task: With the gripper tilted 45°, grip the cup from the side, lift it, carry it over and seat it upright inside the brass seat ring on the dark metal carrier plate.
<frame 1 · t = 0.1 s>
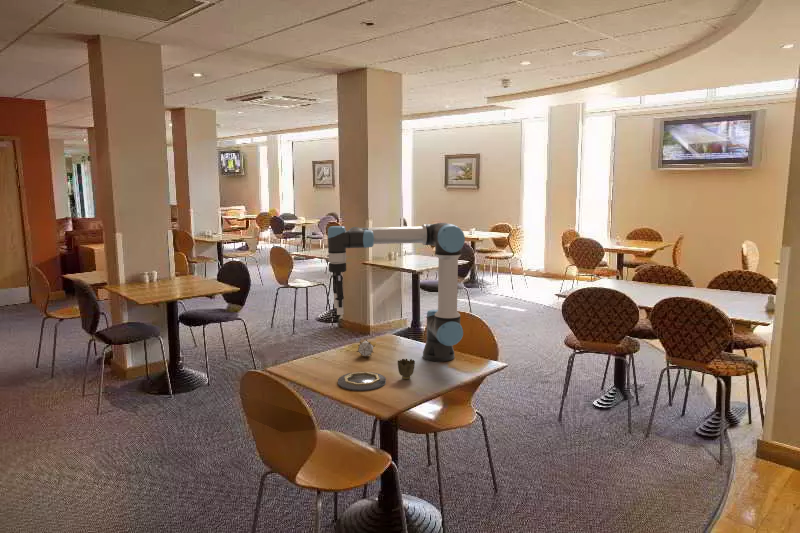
hand: (338, 311, 253), 28 cm above the table, fingers open, 13 cm apart
carrier plate: (361, 382, 245), on the table
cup: (406, 379, 249), on the table
game die: (365, 357, 281), on the table
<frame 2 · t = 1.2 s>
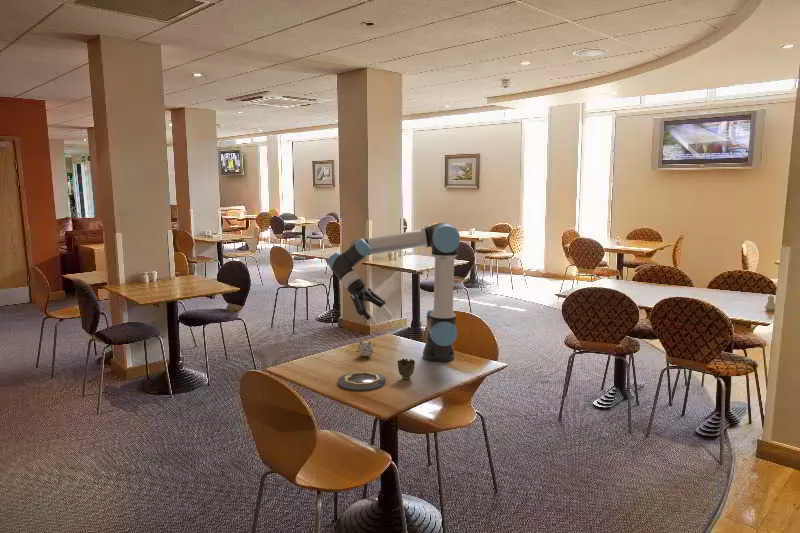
hand: (383, 321, 250), 24 cm above the table, fingers open, 13 cm apart
nothing on the table moved.
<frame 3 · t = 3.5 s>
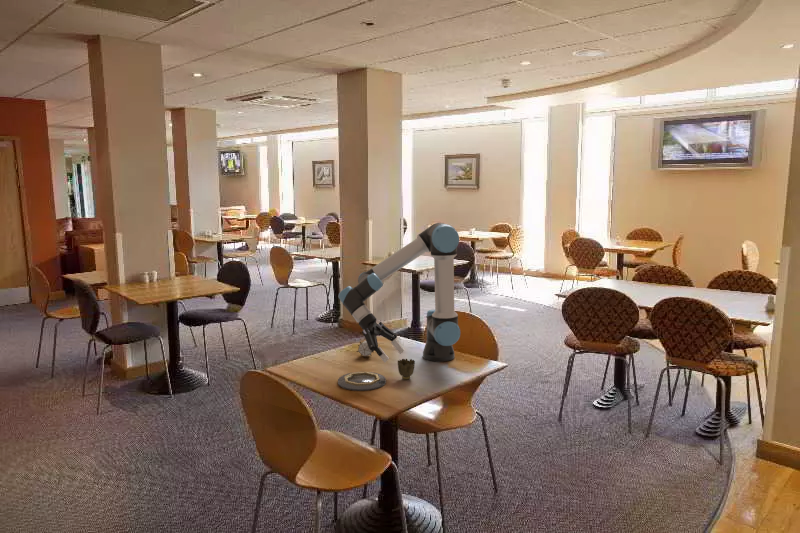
hand: (394, 356, 249), 9 cm above the table, fingers open, 13 cm apart
nothing on the table moved.
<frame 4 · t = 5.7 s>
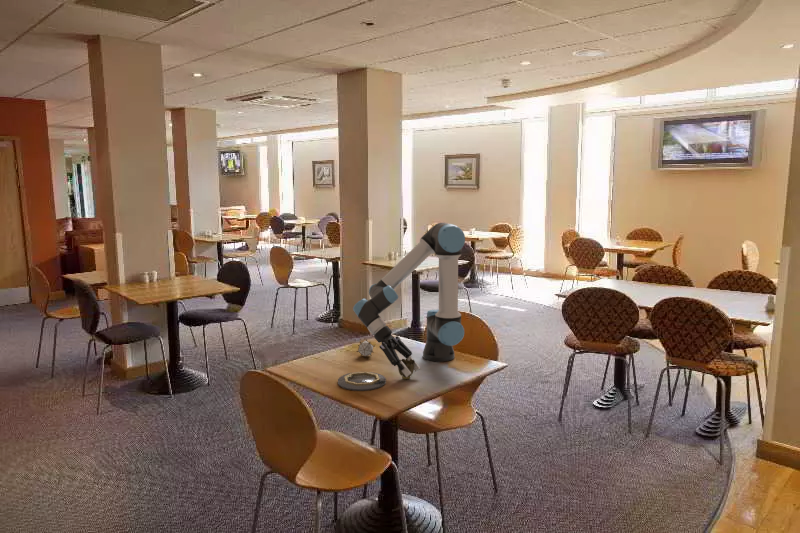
hand: (413, 372, 247), 4 cm above the table, fingers closed on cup, 7 cm apart
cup: (406, 379, 249), on the table, touching gripper
everything else where it was.
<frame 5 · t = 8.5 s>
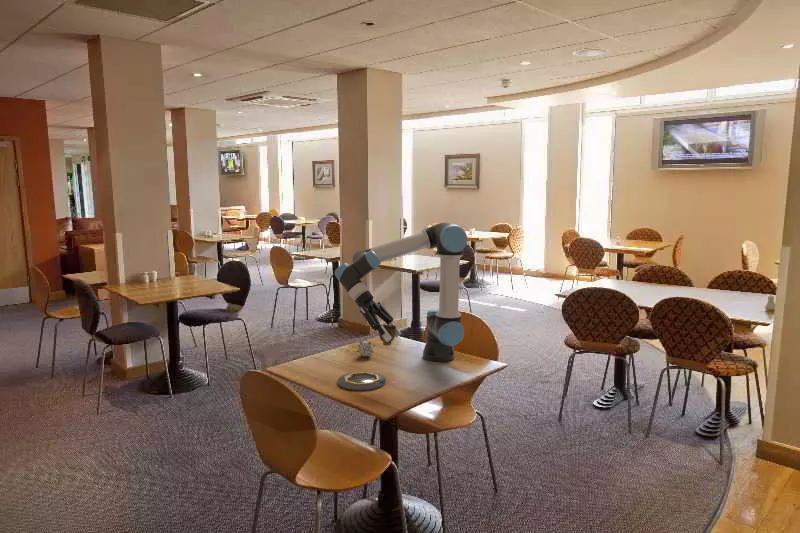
hand: (394, 337, 243), 19 cm above the table, fingers closed on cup, 7 cm apart
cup: (387, 345, 245), point 15 cm above the table, touching gripper
everything else where it was.
when the fingers open (6 cm above the table, at t = 11.2 s): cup drops 1 cm, resting on carrier plate.
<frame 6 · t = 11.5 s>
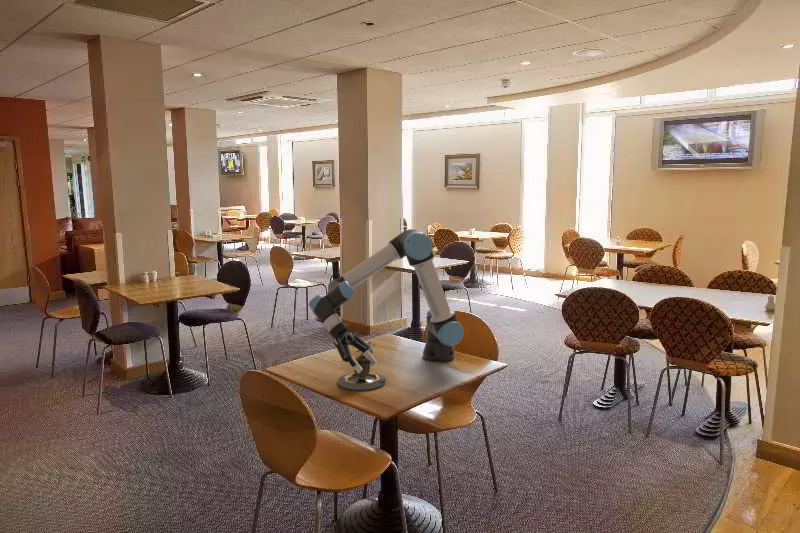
hand: (367, 367, 243), 7 cm above the table, fingers open, 10 cm apart
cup: (361, 379, 245), point 1 cm above the table, touching carrier plate
everything else where it was.
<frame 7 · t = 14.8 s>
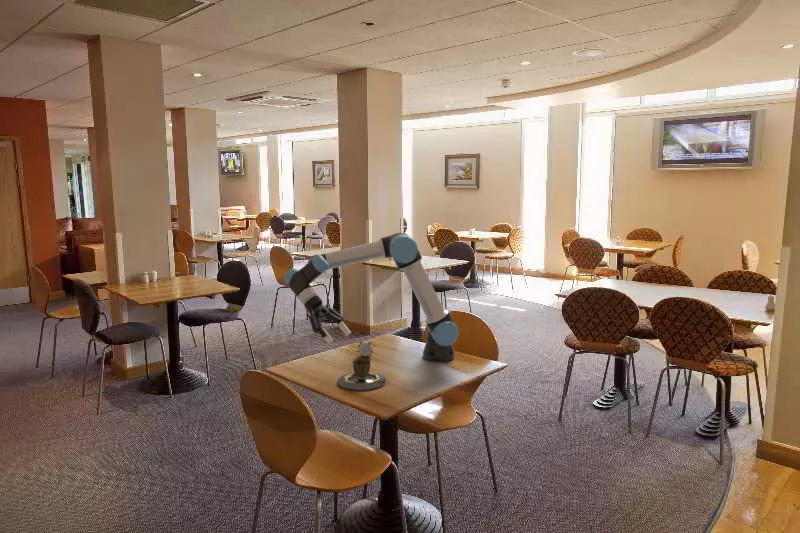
hand: (340, 338, 247), 18 cm above the table, fingers open, 13 cm apart
nothing on the table moved.
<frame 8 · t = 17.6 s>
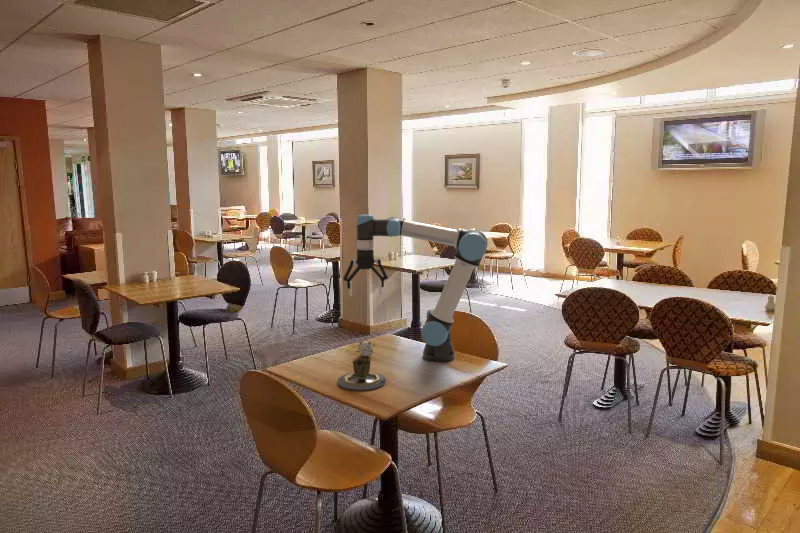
hand: (365, 295, 268), 32 cm above the table, fingers open, 13 cm apart
nothing on the table moved.
at the end: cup 0.1 cm off-centre on the carrier plate, point 1.0 cm above the carrier plate's base; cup tilted 0°; the gripper is holding nothing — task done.
